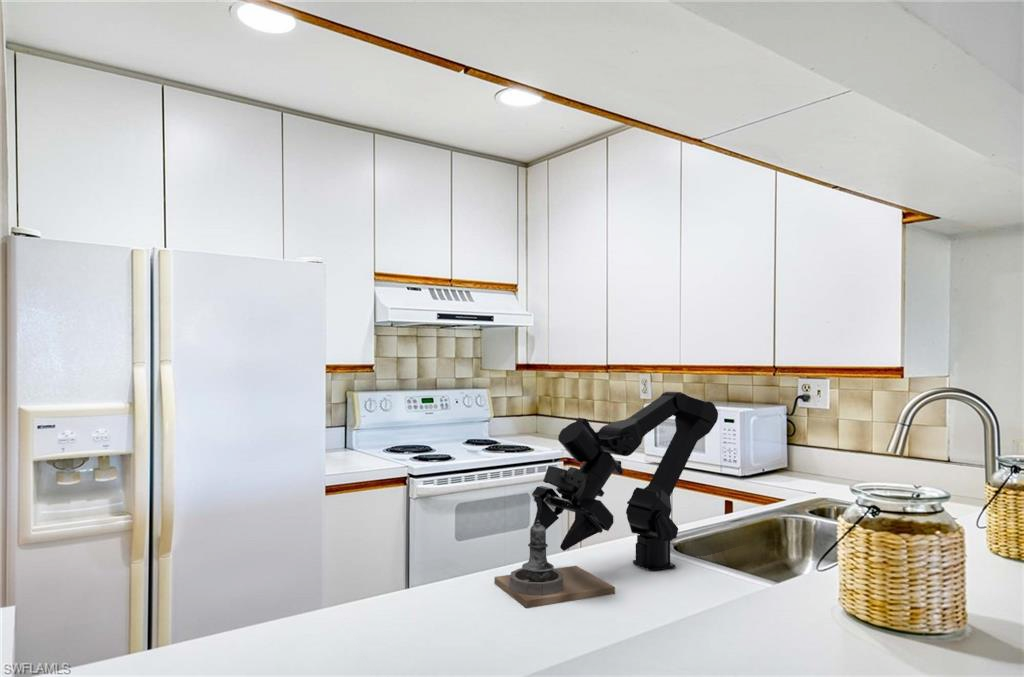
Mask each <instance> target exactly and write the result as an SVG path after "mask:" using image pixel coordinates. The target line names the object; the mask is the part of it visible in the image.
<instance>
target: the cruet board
mask: <svg viewBox="0 0 1024 677" xmlns="http://www.w3.org/2000/svg"><path fill="white" fill-rule="evenodd" d="M527 581H530V580H528V579H527V578H526V576H525V574H524V569H523V568H522V567H521V568H517V569H515V570H513V571H511V572H510V574H506V575H498V576H494V584H495V585H496V586H497V587H498V588H500V589H501V590H503V591H504V592H505V593H506V594H508V595H509V596H510V597H511V598H513V599H514V600H516V602H518V603H519V604H521V605H522V606H523V607H524V608H525V609H529V608H534V607H536V608H537V607H540V606H546V605H552V604H553V605H554V604H560V603H565V602H571V601H572V602H573V601H577V600H583V599H590V598H595V597H602V596H607V595H608V596H609V595H614V594H615V595H616V586H614V585H612V584H610V583H609V582H607V581H605V580H603V579H601V578H600V577H598V576H596V575H594V574H592V573H590V572H589V571H587V570H585V569H583V568H581V567H580V566H578V565H571V566H565V567H557V568H555V567H554V568H553V569H552V574H551V577H550V578H549V579H548V580H546V581H548V582H527Z"/></svg>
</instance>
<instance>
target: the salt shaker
mask: <svg viewBox="0 0 1024 677" xmlns="http://www.w3.org/2000/svg"><path fill="white" fill-rule="evenodd" d="M529 530H530V531H529V533H530V534H529V536H530V537H529V541H530V542H529V543H528V547H529V557H528V561H527V562H524V563H523V564H522V566H521V568H523V569H524V574H525V576H526V578H527V579H528V580H530V581H527V582H548V581H546V580H548V579H549V578H550V577H551V574H552V569H555V566H554V564H552V563H550V562H548V559H547V547H548V546H549V545H548V544H547V541H546V540H547V536H546V533H547V529H545V527H544V526H543V525H541V524H539V520H537V524H535V525H532V526H530V529H529Z"/></svg>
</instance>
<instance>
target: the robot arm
mask: <svg viewBox="0 0 1024 677" xmlns="http://www.w3.org/2000/svg"><path fill="white" fill-rule="evenodd" d="M671 417H675V418H674V422H675V433H674V434H673V437H672V438H671V440H670V443H669V444H668V446H667V448H666V450H665V452H664V454H663V456H662V458H661V460H660V462H659V464H658V465H657V467H656V470H655V472H654V474H653V476H652V478H651V479H650V481H649V483H648V485H647V486H645V487H644V488H641V487H635V489H634V490H633V491H632V494H631V497H630V499H629V500H628V501H627V502H626V503H627V508H626V511H625V514H626V518H627V521H628V524H629V527H630V532H631V533H632V534H637V535H636V543H635V559H633V560H632V563H633V564H635V565H637V566H638V567H641V568H643V569H645V570H647V571H651V572H654V571H660V570H666V569H667V570H668V569H673V568H676V564H674V563H671V541H673V540H674V539H677V537H678V532H679V527H678V526H677V525H676V524H675V522H674V521H673V520H672V519H671V517H670V516H671V513H672V504H671V503H672V502H671V496H672V494H673V492H674V489H676V488H675V487H676V485H677V484H678V481H679V479H680V477H681V475H682V473H683V471H684V469H685V467H686V465H687V463H688V461H689V459H690V458H691V456H692V455H691V454H692V453H693V451H694V448H695V447H696V445H697V444H698V441H699V440H701V439H702V438H704V437H706V436H707V435H708V434H710V433H711V431H712V429H713V428H714V426H715V424H717V421H718V419H719V411H718V409H717V407H716V405H715V404H714V403H713V402H712V401H705V400H701V399H699V398H696V397H692V396H689V395H687V394H685V393H683V392H681V391H665V392H663V393H662V394H661V395H660V396H659V397H658V398H656V399H655V400H653V401H651V402H650V403H649V404H647V405H645V407H643V408H642V409H640V410H638V411H637V412H636V413H634V414H633V415H631V416H630V417H628V418H625V419H621V420H616V421H613V422H611V423H608V424H605V425H603V426H602V427H601V428H600V429H599V430H598V431H596V430H594V428H593V427H592V426H591V424H590V422H589V421H588V420H587V419H586V418H582V417H578V418H577V420H576V421H574V422H571V423H570V424H568V425H567V426H566V427H563V428H562V429H561V431H560V432H559V434H558V438H557V439H558V442H559V443H560V445H562V446H563V448H564V449H565V450H566V452H568V454H569V455H570V456H571V457H572V459H574V461H575V462H576V463H582V465H580V467H579V468H577V467H573V466H570V467H569V468H568V469H565V468H561V467H557V466H556V467H555V466H553V465H552V466H551V465H548V466H547V469H546V472H545V475H544V478H543V481H542V482H543V483H545V484H549V485H552V486H554V487H556V488H555V489H553V488H552V487H547V486H543V485H541V486H539V485H538V486H536V488H535V489H534V490H533V491H532V493H531V496H532V497H533V501H534V502H535V504H536V514H535V518H534V522H533V525H535V524H537V520H539V524H541V525H543V526H544V527H545V529H546V530H547V529H549V528H550V527H551V526H552V525H553V524H554V523H556V521H558V520H559V516H560V514H563V512H564V510H566V511H568V512H572V513H574V521H573V522H572V524H571V526H570V528H569V530H568V531H567V533H566V534H565V536H564V538H563V540H562V542H561V544H560V547H559V548H560V549H561V551H567V550H568V549H570V548H572V547H573V546H576V545H577V544H579V543H581V542H582V541H584V540H586V539H588V538H590V537H593V536H594V535H596V534H598V533H599V534H601V533H603V531H607V532H609V531H610V529H611V527H612V526H613V525H614V515H613V514H612V512H611V511H610V510H609V509H608V508H607V507H606V505H605V504H604V503H603V502H602V501H601V500H599V499H596V498H597V497H601V498H603V496H604V494H605V492H604V490H603V487H605V484H606V483H607V482H608V480H609V479H610V477H611V475H612V474H614V475H620V476H623V474H624V471H623V467H622V461H621V460H618V459H615V458H614V456H612V455H615V456H620V457H621V456H622V457H629V456H630V455H632V454H633V453H634V452H635V451H636V450H637V449H638V448H639V447H640V445H642V443H643V439H644V437H645V436H646V435H647V434H648V433H650V432H651V431H653V430H654V429H655V428H657V427H659V425H661V424H662V423H664V422H666V421H667V420H668V419H670V418H671ZM557 492H558V493H557ZM559 494H560V495H561V496H559ZM533 525H532V526H533Z"/></svg>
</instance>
